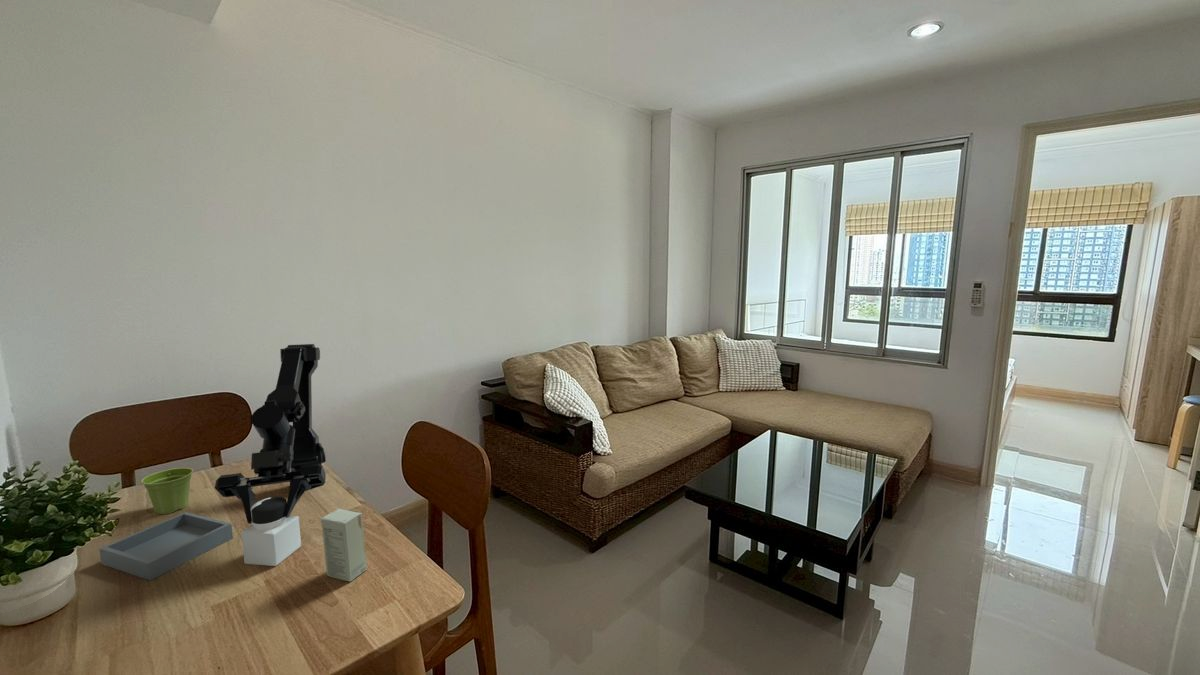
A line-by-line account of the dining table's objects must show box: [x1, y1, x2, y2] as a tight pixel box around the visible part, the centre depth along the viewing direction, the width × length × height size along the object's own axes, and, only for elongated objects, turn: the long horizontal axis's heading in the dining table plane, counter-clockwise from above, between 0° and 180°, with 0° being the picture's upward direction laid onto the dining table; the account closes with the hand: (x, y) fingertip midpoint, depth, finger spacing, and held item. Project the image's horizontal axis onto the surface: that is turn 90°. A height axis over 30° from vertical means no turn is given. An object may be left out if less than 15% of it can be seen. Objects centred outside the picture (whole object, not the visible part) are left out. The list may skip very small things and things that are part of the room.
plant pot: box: [140, 467, 194, 515], centre depth 115 cm, size 9×9×9 cm
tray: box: [99, 511, 234, 581], centre depth 98 cm, size 15×15×4 cm
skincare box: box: [320, 507, 368, 582], centre depth 91 cm, size 6×4×12 cm
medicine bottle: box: [240, 496, 302, 567], centre depth 96 cm, size 7×7×12 cm
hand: (268, 520), depth 95 cm, fingers closed on medicine bottle, 6 cm apart
